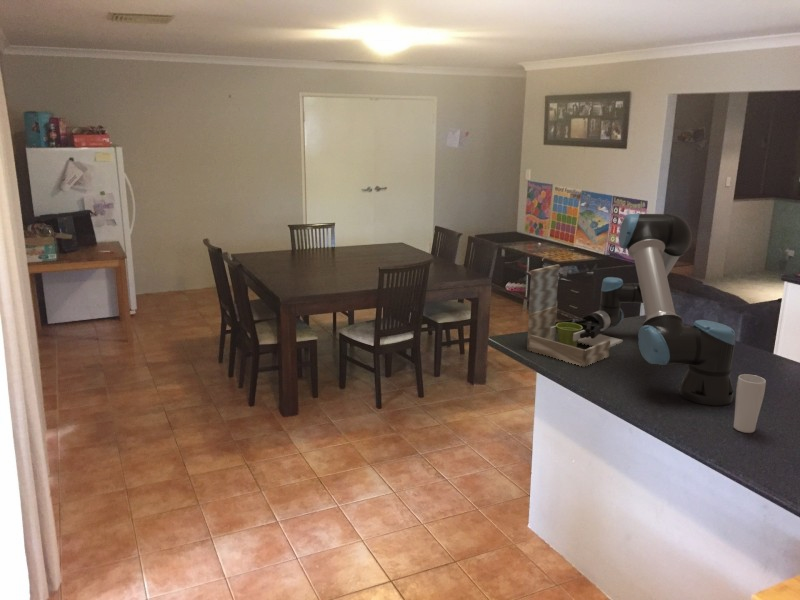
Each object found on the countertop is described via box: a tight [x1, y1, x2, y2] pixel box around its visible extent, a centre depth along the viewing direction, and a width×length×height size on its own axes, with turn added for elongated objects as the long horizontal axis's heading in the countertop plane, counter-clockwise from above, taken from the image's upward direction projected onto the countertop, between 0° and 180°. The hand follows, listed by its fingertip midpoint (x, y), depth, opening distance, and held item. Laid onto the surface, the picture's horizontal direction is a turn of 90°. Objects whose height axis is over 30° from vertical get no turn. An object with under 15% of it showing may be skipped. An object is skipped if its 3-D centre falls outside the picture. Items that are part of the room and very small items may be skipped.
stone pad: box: [577, 333, 624, 348], centre depth 253 cm, size 14×14×1 cm
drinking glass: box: [733, 373, 767, 434], centre depth 179 cm, size 7×7×15 cm
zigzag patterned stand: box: [526, 264, 611, 368], centre depth 236 cm, size 16×24×30 cm
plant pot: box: [556, 322, 583, 348], centre depth 238 cm, size 9×9×9 cm
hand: (562, 334), depth 235 cm, fingers closed on plant pot, 9 cm apart
